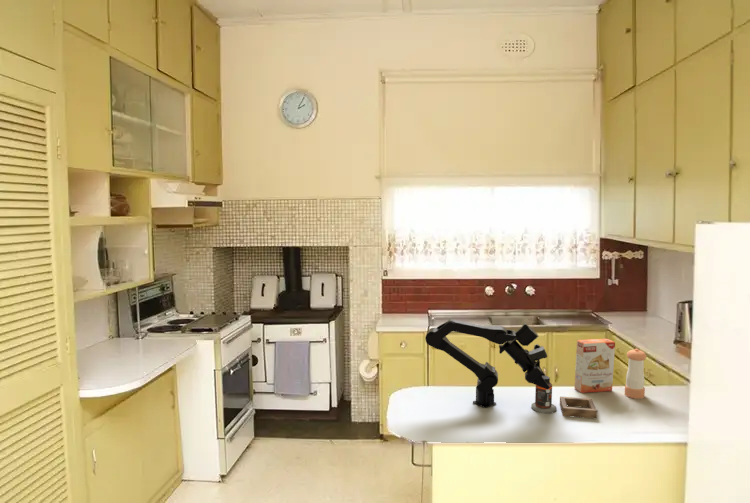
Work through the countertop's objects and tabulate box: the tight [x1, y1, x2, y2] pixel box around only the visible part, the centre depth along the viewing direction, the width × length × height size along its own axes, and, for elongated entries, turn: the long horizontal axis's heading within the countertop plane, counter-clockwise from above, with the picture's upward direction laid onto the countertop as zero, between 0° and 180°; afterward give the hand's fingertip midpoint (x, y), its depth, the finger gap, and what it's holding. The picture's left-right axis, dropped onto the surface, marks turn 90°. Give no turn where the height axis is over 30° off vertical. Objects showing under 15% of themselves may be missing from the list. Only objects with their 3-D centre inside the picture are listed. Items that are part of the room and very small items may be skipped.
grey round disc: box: [530, 402, 557, 414], centre depth 211 cm, size 9×9×1 cm
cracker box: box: [573, 338, 616, 394], centre depth 229 cm, size 14×6×21 cm, turn 100°
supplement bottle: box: [534, 375, 553, 409], centre depth 211 cm, size 6×6×11 cm
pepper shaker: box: [624, 348, 647, 400], centre depth 223 cm, size 7×7×19 cm
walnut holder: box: [559, 396, 598, 419], centre depth 209 cm, size 12×12×3 cm
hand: (547, 384), depth 210 cm, fingers open, 9 cm apart
